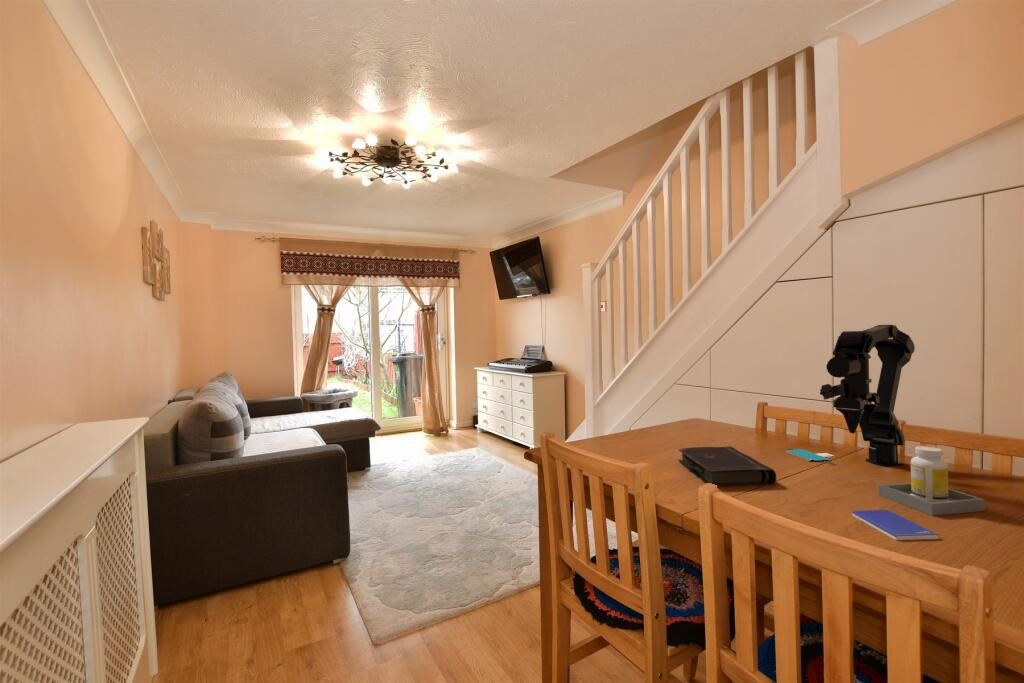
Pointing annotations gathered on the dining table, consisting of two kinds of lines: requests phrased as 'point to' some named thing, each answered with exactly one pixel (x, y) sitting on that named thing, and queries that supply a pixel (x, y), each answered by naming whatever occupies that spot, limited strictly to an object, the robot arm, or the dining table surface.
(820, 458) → the teal flat slab
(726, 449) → the diary
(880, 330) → the robot arm
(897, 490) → the holder tray
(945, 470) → the pill bottle
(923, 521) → the dining table surface
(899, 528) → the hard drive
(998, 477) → the dining table surface
